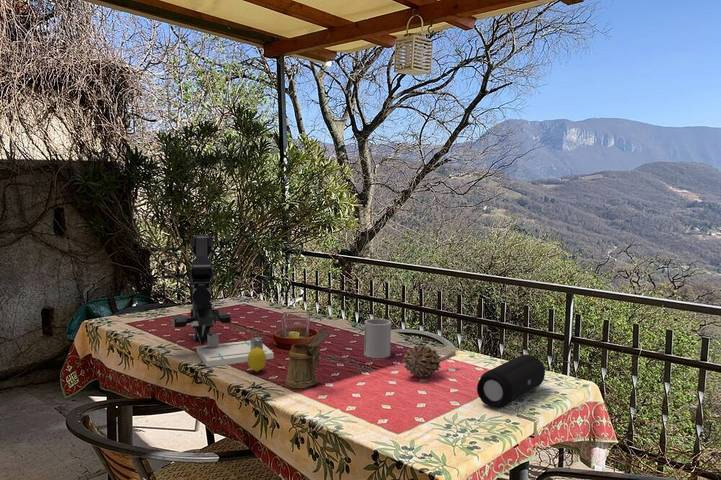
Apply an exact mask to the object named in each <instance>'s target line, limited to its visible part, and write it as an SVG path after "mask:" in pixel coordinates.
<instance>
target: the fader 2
mask: <svg viewBox="0 0 721 480" xmlns="http://www.w3.org/2000/svg"><path fill="white" fill-rule="evenodd" d="M250 341H251V350H252V349H254V348H256V347H258V348H260V349H262V350H263V344H264V343H263V342H264V341H263V339H262V338H261V337H252V338H250Z"/></svg>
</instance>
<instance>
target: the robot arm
mask: <svg viewBox="0 0 721 480" xmlns="http://www.w3.org/2000/svg"><path fill="white" fill-rule="evenodd" d="M189 240H190V243H189V244H190V245H189V246H190V249H192V255H193V256H194V259H192V264H191V266H189V285H190V286H192V302H193V303H192V308H191V309H190V317H186V316H185V315H183V314H182V315H174V316H173V317H172V320H171V321H172V326H173V327H174V328H175V329H177V328H185V327H187V325H188V324H189V326H190V327H191V328H192V329H194V336H192V337H191V338H192V339H193V341H194V342H200V345H204V344H205V342H207V334H210V333H211V328H212V327H215V324H216V322H218V321H219V322H220V323H221V324H230V323H231V322H232V317H231V315H230V313H228V312H226V311H222V312H220V309H218V308H214V307H213V305H212V303H213V302H212V301H211V298H212V294H211V291H212V290H211V285H214V282H216V269H215V268H214V266H213V265H212V260H211V259H209V258H210V256H211V254H212V249H213V248H214V237H213V236H210V235H208V234H196V235H194V236H192V237H190V239H189Z"/></svg>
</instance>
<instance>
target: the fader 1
mask: <svg viewBox="0 0 721 480" xmlns="http://www.w3.org/2000/svg"><path fill="white" fill-rule="evenodd" d="M219 339H220V338H219V334H218V332H210V334H207V341H206V343H207V345H208V346H209V347H210V348H214V347H219V344H220V341H219Z"/></svg>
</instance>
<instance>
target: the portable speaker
mask: <svg viewBox="0 0 721 480" xmlns="http://www.w3.org/2000/svg"><path fill="white" fill-rule="evenodd" d="M545 374H546V369H545V366H544V363H543V362H542V361H541V360H540V359H539V358H538V357H536V356H534V355H531V354H526V353H525V354H520V355H518V356H516V357H514V358H512V359H510V360H507V361H506V362H503V363H502V364H500V365H498V366H495V367H494V368H491V369H489V370H488V371H485V372H484V373H482V375H481V376H480V378H479V380H478V382H477V385H476V392H477V395H478V398H479V400H480V401H481V402H482V403H483V404H484V405H486V406H488V407H490V408H494V407H495V408H496V409H502V408H501V407H503V408H505V407H508V405H510V404H511V403H513V402H515V401H516V400H518V399H520V398H521V397H523V396H525V395H526V394H528V393H529V392H531V391H532V390H534V389H536V388H538V387H539V386H541V385H542V383H543V382H544V380H545V376H546V375H545Z"/></svg>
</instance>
